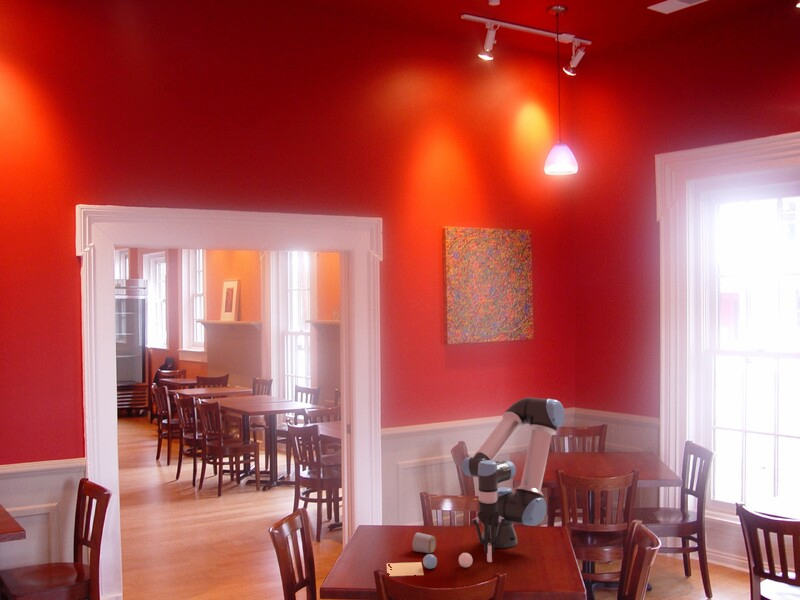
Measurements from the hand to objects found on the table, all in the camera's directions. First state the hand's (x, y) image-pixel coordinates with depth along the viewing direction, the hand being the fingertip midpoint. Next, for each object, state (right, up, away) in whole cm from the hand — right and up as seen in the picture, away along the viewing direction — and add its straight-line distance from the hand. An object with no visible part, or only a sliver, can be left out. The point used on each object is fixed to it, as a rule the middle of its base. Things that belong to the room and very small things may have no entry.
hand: (489, 560), depth 306 cm
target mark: (-33, -3, -1) cm, 33 cm away
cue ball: (-9, 0, 0) cm, 9 cm away
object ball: (-23, 0, -1) cm, 23 cm away
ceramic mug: (-25, -3, +20) cm, 32 cm away
